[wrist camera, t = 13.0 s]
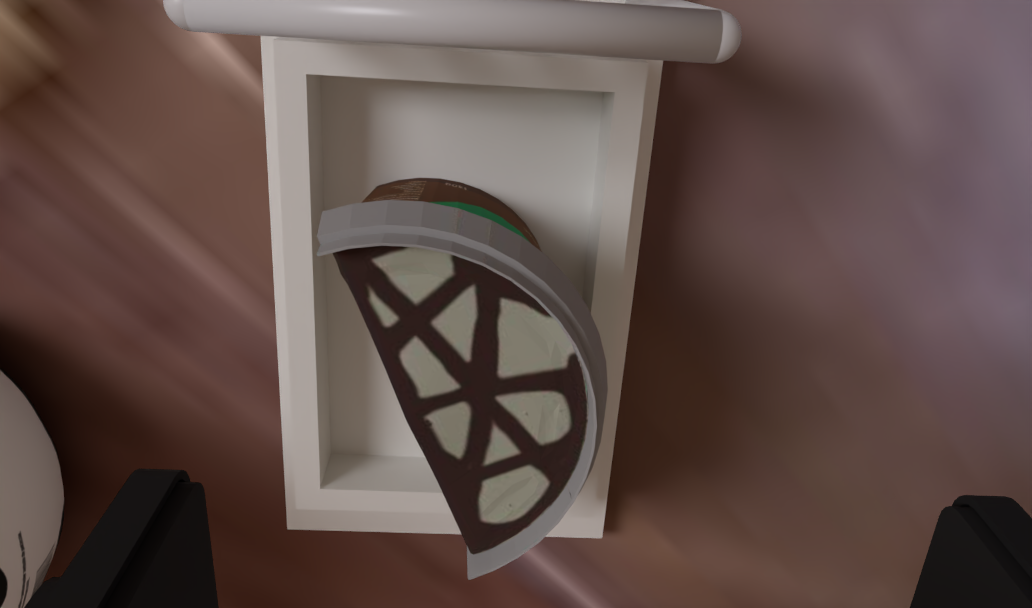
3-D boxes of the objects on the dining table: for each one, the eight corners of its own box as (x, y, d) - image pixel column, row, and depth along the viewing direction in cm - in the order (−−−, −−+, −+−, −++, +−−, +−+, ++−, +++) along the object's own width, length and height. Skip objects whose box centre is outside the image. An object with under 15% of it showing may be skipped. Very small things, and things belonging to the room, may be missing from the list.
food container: (617, 379, 34) (666, 536, 25) (476, 423, 35) (474, 593, 26) (521, 91, 30) (538, 155, 20) (361, 148, 30) (307, 235, 21)
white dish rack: (669, -37, 29) (777, -29, 18) (599, 524, 38) (643, 745, 28) (262, -65, 28) (128, -74, 18) (292, 515, 38) (215, 739, 27)
